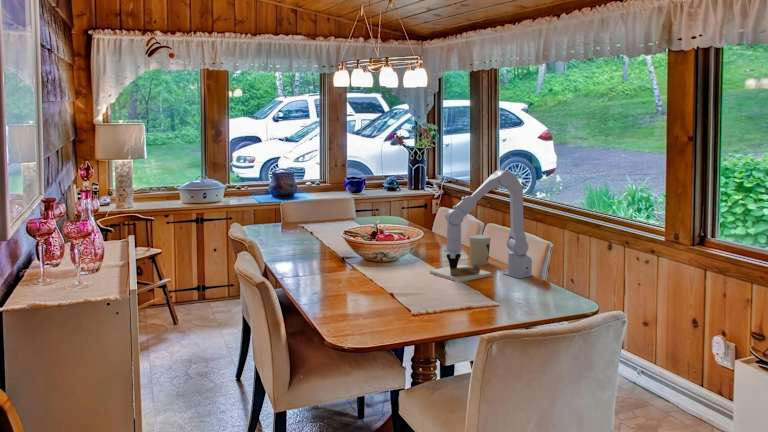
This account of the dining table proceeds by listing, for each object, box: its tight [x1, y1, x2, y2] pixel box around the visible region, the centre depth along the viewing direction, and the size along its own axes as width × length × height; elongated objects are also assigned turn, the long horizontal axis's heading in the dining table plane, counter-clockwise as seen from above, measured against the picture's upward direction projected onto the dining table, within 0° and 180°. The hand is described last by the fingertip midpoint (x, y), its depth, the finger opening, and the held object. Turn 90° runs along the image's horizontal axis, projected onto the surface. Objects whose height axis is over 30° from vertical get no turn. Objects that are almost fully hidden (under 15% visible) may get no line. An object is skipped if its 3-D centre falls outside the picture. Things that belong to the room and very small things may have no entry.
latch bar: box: [450, 264, 481, 276], centre depth 276 cm, size 12×2×3 cm, turn 112°
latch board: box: [428, 264, 492, 283], centre depth 282 cm, size 18×18×1 cm
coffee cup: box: [468, 234, 491, 266], centre depth 301 cm, size 9×9×12 cm
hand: (453, 271), depth 277 cm, fingers closed
